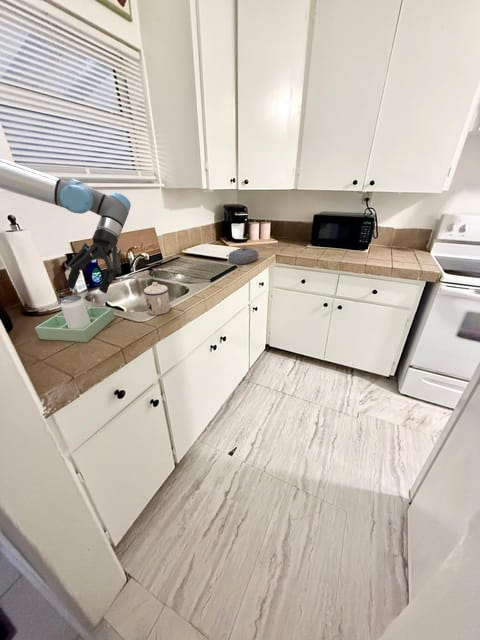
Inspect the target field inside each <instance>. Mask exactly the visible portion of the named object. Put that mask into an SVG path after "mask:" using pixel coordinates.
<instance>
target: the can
mask: <svg viewBox="0 0 480 640" xmlns="http://www.w3.org/2000/svg"><path fill="white" fill-rule="evenodd" d="M86 307H87V306H86V303H85V301H84V300H83V298H82V296H81V295H75V294H74V295H68V296H64V297H63V298H61V299H60V309H61V312H62V311H63V314H64V317H65V320H66V323H67V325H68V328H69V329H81V330H83V329H84V328H86V327H87V326H88V325H89V324H91V322H90V319H89V316H88V312H87V309H86Z"/></svg>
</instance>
